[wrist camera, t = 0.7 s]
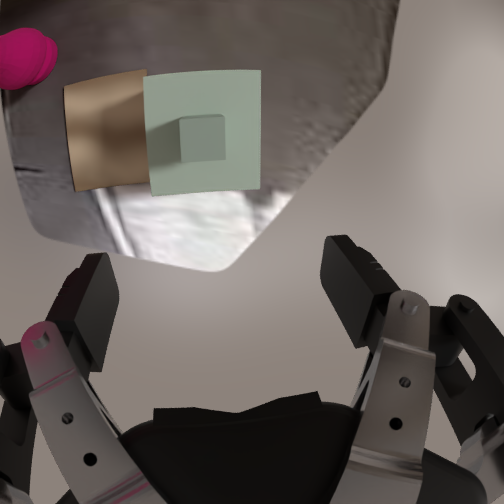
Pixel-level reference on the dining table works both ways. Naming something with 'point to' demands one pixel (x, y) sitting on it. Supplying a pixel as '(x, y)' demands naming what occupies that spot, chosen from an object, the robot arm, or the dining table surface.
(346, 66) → the dining table surface
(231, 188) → the lid
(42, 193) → the dining table surface
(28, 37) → the pepper mill
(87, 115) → the cork mat
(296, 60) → the dining table surface
